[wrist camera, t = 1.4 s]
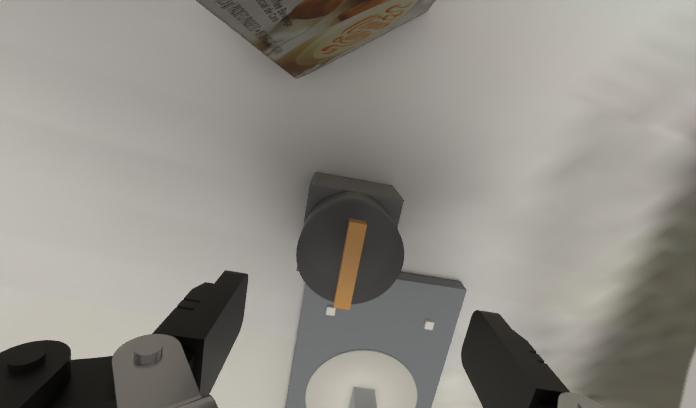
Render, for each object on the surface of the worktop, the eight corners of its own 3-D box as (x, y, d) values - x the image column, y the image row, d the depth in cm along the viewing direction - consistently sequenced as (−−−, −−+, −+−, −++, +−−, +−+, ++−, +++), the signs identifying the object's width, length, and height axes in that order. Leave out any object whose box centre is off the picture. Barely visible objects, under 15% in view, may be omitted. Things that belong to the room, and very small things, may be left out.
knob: (315, 172, 22) (303, 199, 14) (392, 185, 22) (418, 218, 15) (303, 245, 23) (287, 302, 16) (376, 256, 23) (393, 318, 16)
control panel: (310, 258, 23) (303, 289, 19) (460, 281, 24) (486, 316, 20) (279, 444, 27) (268, 505, 23) (408, 459, 28) (420, 520, 24)
